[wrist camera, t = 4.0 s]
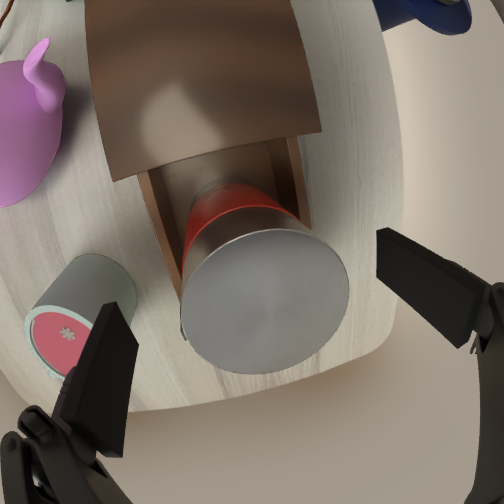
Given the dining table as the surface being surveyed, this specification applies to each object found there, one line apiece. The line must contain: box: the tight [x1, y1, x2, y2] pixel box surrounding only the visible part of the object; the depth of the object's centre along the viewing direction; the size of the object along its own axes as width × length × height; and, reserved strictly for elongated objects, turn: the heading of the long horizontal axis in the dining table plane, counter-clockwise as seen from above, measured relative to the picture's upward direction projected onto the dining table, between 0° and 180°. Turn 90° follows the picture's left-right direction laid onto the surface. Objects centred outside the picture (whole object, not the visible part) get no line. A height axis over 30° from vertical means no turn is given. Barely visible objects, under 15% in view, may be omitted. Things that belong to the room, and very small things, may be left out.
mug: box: [24, 254, 137, 381], centre depth 22 cm, size 14×9×10 cm
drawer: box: [137, 136, 311, 341], centre depth 23 cm, size 21×13×7 cm, turn 12°
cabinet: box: [85, 0, 322, 182], centre depth 16 cm, size 18×14×9 cm
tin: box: [180, 178, 349, 374], centre depth 17 cm, size 7×7×15 cm
